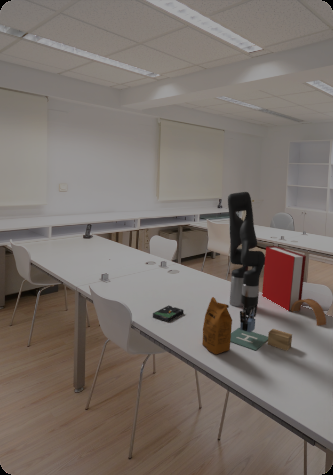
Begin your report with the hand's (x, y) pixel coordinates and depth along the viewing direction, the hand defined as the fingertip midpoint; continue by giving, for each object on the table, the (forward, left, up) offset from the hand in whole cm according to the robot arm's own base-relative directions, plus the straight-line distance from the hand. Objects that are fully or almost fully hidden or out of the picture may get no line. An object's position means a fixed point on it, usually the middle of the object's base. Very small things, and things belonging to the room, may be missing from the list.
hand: (247, 328), depth 165 cm
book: (-58, -6, -5) cm, 59 cm away
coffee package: (+17, -7, -5) cm, 19 cm away
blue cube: (0, 0, 0) cm, 0 cm away
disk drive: (+3, -44, -6) cm, 45 cm away
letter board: (0, 0, -5) cm, 5 cm away
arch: (-46, +14, -6) cm, 48 cm away
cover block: (-4, +14, -5) cm, 16 cm away
